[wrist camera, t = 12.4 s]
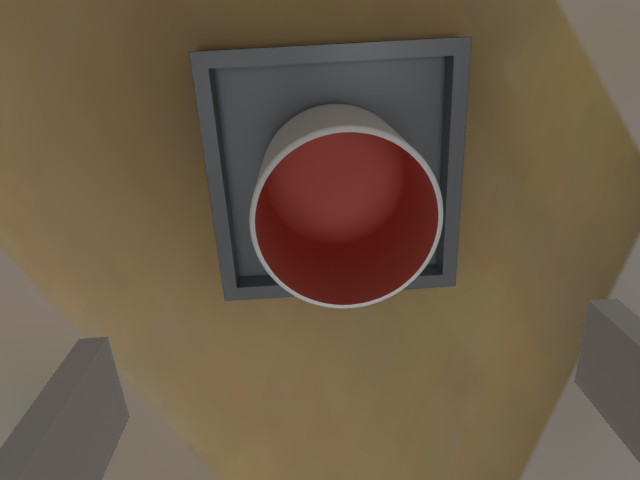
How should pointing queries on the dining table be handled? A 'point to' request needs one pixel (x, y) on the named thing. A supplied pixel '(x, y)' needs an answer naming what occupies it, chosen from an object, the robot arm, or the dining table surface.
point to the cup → (344, 208)
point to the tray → (320, 89)
